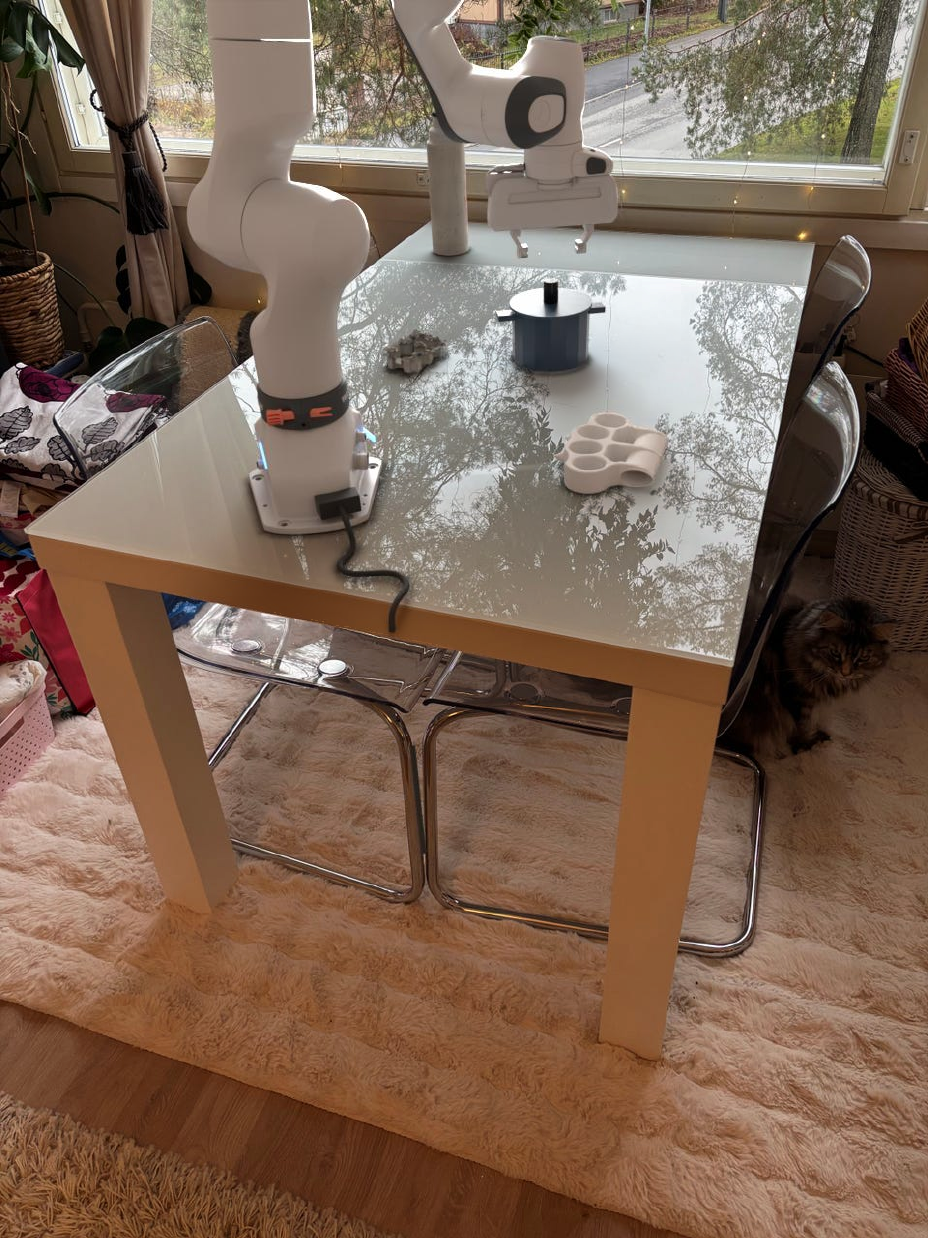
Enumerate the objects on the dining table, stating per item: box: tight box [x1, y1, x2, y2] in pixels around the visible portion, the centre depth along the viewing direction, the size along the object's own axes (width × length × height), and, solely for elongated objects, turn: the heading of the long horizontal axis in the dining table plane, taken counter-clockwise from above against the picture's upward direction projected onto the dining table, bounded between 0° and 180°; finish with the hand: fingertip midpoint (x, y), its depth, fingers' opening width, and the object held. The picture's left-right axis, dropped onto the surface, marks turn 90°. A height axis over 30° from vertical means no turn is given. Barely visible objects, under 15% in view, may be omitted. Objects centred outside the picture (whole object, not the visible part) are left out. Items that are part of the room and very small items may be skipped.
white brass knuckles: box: [552, 411, 670, 495], centre depth 130 cm, size 3×18×15 cm
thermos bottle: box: [425, 110, 470, 256], centre depth 200 cm, size 8×8×28 cm
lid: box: [509, 277, 593, 320], centre depth 153 cm, size 14×14×5 cm
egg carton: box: [381, 329, 448, 374], centre depth 160 cm, size 11×8×4 cm
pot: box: [495, 301, 607, 373], centre depth 157 cm, size 13×18×10 cm
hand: (551, 254), depth 149 cm, fingers open, 8 cm apart
